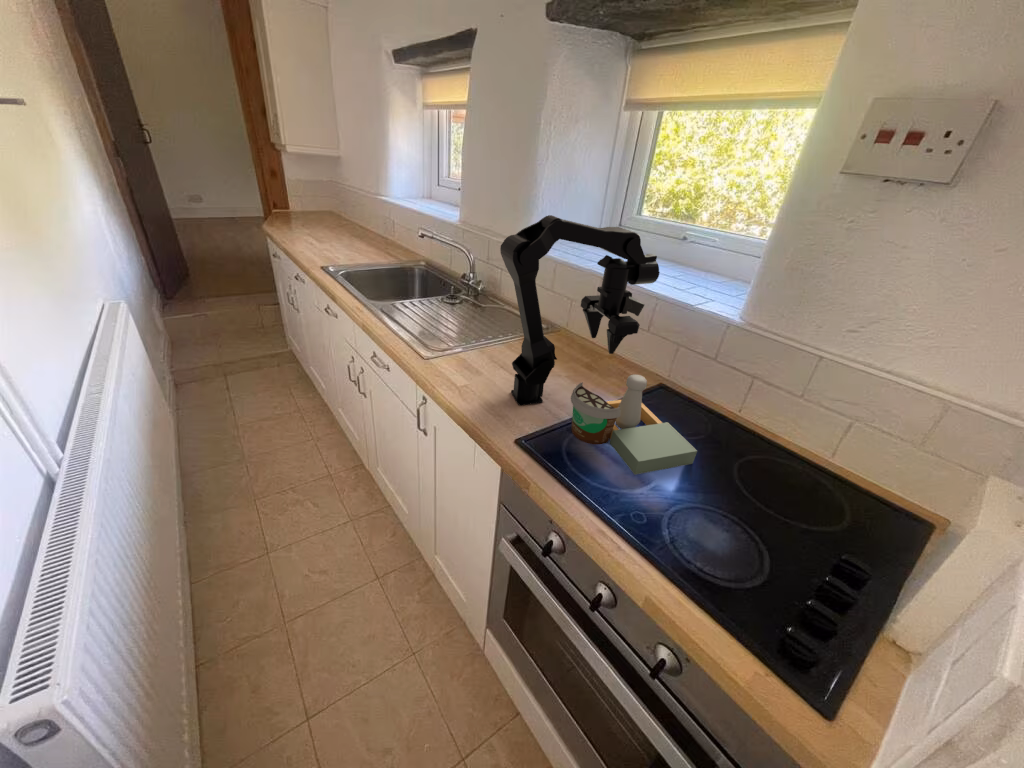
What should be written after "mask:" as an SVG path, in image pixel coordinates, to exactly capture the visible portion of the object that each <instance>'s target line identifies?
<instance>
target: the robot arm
mask: <svg viewBox="0 0 1024 768" xmlns="http://www.w3.org/2000/svg"><path fill="white" fill-rule="evenodd" d="M559 240H561V241H567V242H571V243H575V244H576V243H577V244H579V245H580V244H581V245H586V246H590V247H595V248H600V249H601V250H604V251H606V252H608V253H610V254H612V255H615V256H618V258H616V257H615V258H613V256H610V255H608V254H606V255H605V256H604V257H603V258H601V259H600V260H599V261H597V265H598V266H599V267H602V268H604V270H603V276H602V282H601V286H597V289H596V290H597V292H598V293H599V295H585V296H584V297H582V299H581V301H580V307H581V308H582V312H583V314H584V317H585V320H586V323H587V327H588V330H589V333H590V337H591V338H592V339H596V338H597V336H598V333H599V329H600V325H601V323H602V322H601V321H602V319H603V318H604V317H606V318H607V319H608V323H607V327H608V328H607V329H606V338H607V339H606V341H607V350H608V351H607V352H608V353H609V355H612V354H615V352H616V350H617V349H618V347H619V345H620V344H621V342H623V340H624V338H626V337H627V336H630V335H631V336H632V335H633V334H636V335H637V334H638V333H639V330H640V323H639V322H638V321H637V320H636V319H635V318H634V317H632V316H630V315H627V314H628V313H629V314H630V313H631V314H633V315H634V316H636V317H639V316H640V314H641V312H642V311H643V309H644V307H645V303H643V302H641V301H640V300H638V299H637V298H635V297H633V293H632V292H631V291H630V290H627V286H628V284H629V285H632V286H635V285H647V284H648V285H649V284H650V285H651V284H653V283H655V282H656V281H658V279H659V276H660V266H659V263H658V262H657V258H658V256H657V255H655V254H653V253H647V254H646V253H644V250H643V248H642V244H641V243H642V242H641V235H640V234H639V233H637V232H635V231H632V230H630V229H626V228H622V227H620V226H605V227H596V226H593V225H592V226H591V225H589V224H583V223H579V222H576V221H572V220H571V221H570V220H566V219H562V218H560V217H558V216H554V215H550V214H549V215H545V216H544V217H543V218H541V219H540V220H539V221H537V222H535V223H533V224H531V225H528V226H526V227H524V228H522V229H521V230H519V231H518V232H516V234H511V235H509V236H507V237H506V238H505V239H504V240H503V241H502V243H501V245H500V248H499V249H500V250H499V251H500V255H501V257H502V261H503V263H504V265H505V268H506V270H507V271H508V274H509V275H510V278H511V280H512V281H513V285H514V291H515V296H516V301H517V306H518V312H519V316H520V321H521V327H522V332H523V340H522V343H521V353H520V354H519V355H518V356H517V357H516V358H515V359H514V360H513V361H512V362H511V366H512V368H513V371H515V372H516V373H515V374H514V380H513V389H511V391H510V393H511V395H512V397H513V399H514V400H515V402H516V404H517V406H526V405H533V404H542V403H543V402H544V401H543V398H542V397H543V395H544V394H543V393H544V386H545V383H547V379H548V377H549V376H550V374H551V372H552V370H553V368H555V366H556V365H555V364H556V363H555V362H556V361H555V360H558V358H557V356H556V346H555V344H554V343H553V342H552V341H551V340H550V339H549V338H548V337H547V336H545V335H544V334H545V333H544V327H543V321H542V315H541V308H540V304H539V303H540V301H539V297H538V290H537V289H538V288H537V284H536V283H537V281H536V279H537V276H538V273H539V270H540V260H541V259H542V258H543V257H545V256H546V255H547V254H548V253H549V252H550V251H551V249H552V248H553V246H554V244H556V243H557V242H558V241H559ZM620 314H621V315H622V316H621V315H620Z"/></svg>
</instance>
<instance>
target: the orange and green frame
mask: <svg viewBox="0 0 1024 768" xmlns="http://www.w3.org/2000/svg"><path fill="white" fill-rule="evenodd" d="M621 400H622V399H615V400H614V399H613V400H607V401H606V402H607V403H608V404H609V405H611V406H612V407H614V408H618V406H619V404H620V402H621ZM640 421H641V422H643V423H644V425H641V426H636V427H633V428H627V429H620V428H619V427H618V426H617V425H616V423H615V424H614V427H613V430H612V432H611V435H610V438H609V440H610V441H609V445H610V446H611V447H612V448H613V449H614V450H615V451H616V453H617V454H618V455H619V457H620V458H621V459H622V461H623V462H624V463H625V465H626V466H627V467H628V469H629V470H630V471H631V472H632V473H633V475H634V476H636V475H641V474H645V473H652V472H657V471H662V470H666V469H672V468H678V467H684V466H687V465H693V464H694V462H695V458H696V456H697V453H698V450H697V449H696V448H695V447H694V446H693V445H692V444H691V443H690V442H689V441H688V440H687V439H686V438H685V437H684V436H682V434H681V433H679V432H678V431H677V430H676V428H674V427H673V426H672V425H671V424H670V423H669V422H666V421H665V422H663V421H661V420H660V419H659V418H658V417H657V416H656V415H655V414H654V412H652V411H651V410H650V409H649V408H648V407H647V406H646V405H645V404H644V403H643V402H642V403H641V418H640Z"/></svg>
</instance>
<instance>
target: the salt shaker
mask: <svg viewBox="0 0 1024 768" xmlns="http://www.w3.org/2000/svg"><path fill="white" fill-rule="evenodd" d="M625 383H626V387H627V389H626V391H625V393H624V395H623V397H622V399H620V400H621V402H620V404H619V406H618V408H619V407H620V410H621V413H620V417H618V418H617V419H616V421H615V425H616V426H617V428H618V429H619V430H620V429H627V428H633V427H638V425H639V424H640V423H641V419H640V418H641V403H643V400H642V399H643V391H644V390H646V388H647V386H648V385H647V384H648V380H647V379H646V378H645V376H643V375H641V374H630V375H628V377H627V379H626V381H625Z"/></svg>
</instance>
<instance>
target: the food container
mask: <svg viewBox="0 0 1024 768" xmlns="http://www.w3.org/2000/svg"><path fill="white" fill-rule="evenodd" d="M583 383H584V382H583V381H582V382H580V383H578V384H577V385H576V386H575V387H574V389H573V391H572V393H571V395H570V402H571V404H572V416H571V429H570V430H571V434H572V435H573V436H574V437H575V439H577V440H579V441H580V442H583V443H585V444H589V445H595V446H596V445H598V446H599V445H604V444H608V443H609V440H610V435H611V432H612V430H613V427H614V424H615V425H616V419H617V418H618V417H620V413H621V410H620V407H619V408H614V407H612V406H611V405H609V404H608V403H607V401H606V400H605V399H604V398H603V397H602V396H600V395H598V394H597V393H594V392H592V391H590V390H588V389H587V388H586V387H584V386H583Z"/></svg>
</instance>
